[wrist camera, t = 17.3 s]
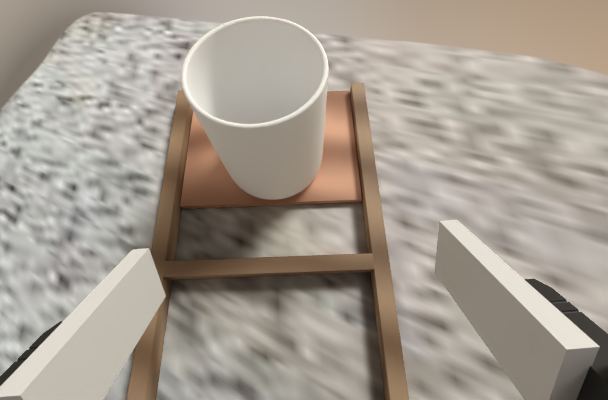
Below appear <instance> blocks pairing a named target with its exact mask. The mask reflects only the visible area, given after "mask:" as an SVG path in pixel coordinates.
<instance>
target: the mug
mask: <svg viewBox="0 0 608 400" xmlns="http://www.w3.org/2000/svg"><path fill="white" fill-rule="evenodd" d="M328 70H329V67H328V59H327V56H326V53H325V51H324V49H323V46H322V45H321V43H320V42H319V41H318V39H317V38H316V37H315V36H314V35H313V34H312V33H310V32H309V31H308V30H306V29H305V28H303V27H302V26H300V25H298V24H295V23H294V22H291V21H288V20H284V19H280V18H275V17H262V16H259V17H247V18H241V19H237V20H233V21H230V22H227V23H225V24H222V25H220V26H218V27H216V28H214V29H212V30H211V31H209V32H208V33H206V34H205V35H204V36H202V37H201V38H200V39H199V40H198V41H197V42H196V43H195V44H194V45H193V46H192V48H191V49H190V51H189V52H188V54H187V56H186V58H185V60H184V63H183V66H182V72H181V84H182V89H183V92H184V95H185V97H186V99H187V101H188V102H189V104H190V106H191V108H192V109H193V111H194V113H195V115H196V117H197V118H198V120H199V122H200V124H201V125H202V127H203V129H204V131H205V132H206V134H207V136H208V138H209V140H210V141H211V143H212V145H213V147H214V148H215V150H216V152H217V154H218V155H219V157H220V159H221V161H222V163H223V164H224V166H225V168H226V170H227V171H228V173H229V175H230V176H231V178H232V179H233V181H234V182H235V183H236V184H237V185H238V186H239V187H240V188H241V189H242V190H244V191H245V192H246V193H248V194H250V195H252V196H255V197H258V198H261V199H268V200H277V199H284V198H287V197H291V196H293V195H295V194H297V193H299V192H301V191H302V190H304V189H305V188H306V187H307V186H308V185H309V184H310V183H311V182H312V181H313V180H314V178H315V177H316V175H317V173H318V171H319V168H320V165H321V161H322V154H323V141H324V127H325V113H326V98H327V84H328Z"/></svg>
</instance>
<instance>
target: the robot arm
mask: <svg viewBox="0 0 608 400" xmlns="http://www.w3.org/2000/svg"><path fill="white" fill-rule="evenodd" d="M435 273H436V275H437V276H438V278H439V279H440V280H441V282H442V283H443V285H444V286H445V288H446V289H447V290H448V292H449V293H450V295H451V296H452V297H453V299H454V300H455V302H456V303H457V305H458V306H459V307H460V309H461V310H462V312H463V313H464V314H465V316H466V317H467V319H468V320H469V322H470V323H471V324H472V326H473V327H474V329H475V330H476V331H477V333H478V334H479V336H480V337H481V339H482V340H483V341H484V343H485V344H486V346H487V347H488V348H489V350H490V351H491V353H492V354H493V356H494V357H495V358H496V360H497V361H498V363H499V364H500V365H501V367H502V368H503V370H504V371H505V373H506V374H507V375H508V377H509V378H510V380H511V381H512V382H513V384H514V385H515V387H516V388H517V390H518V391H519V392H520V394H521V395H522V397H523V398H524V399H525V400H608V334H607V333H606V332H605V331H603V330H602V329H601V328H600V327H599V326H597V325H596V324H595V323H594V322H593V321H591V320H590V319H589V318H588V317H587V316H585V315H584V314H583V313H582V312H579V311H578V309H577V308H576V307H574V306H573V305H572V304H571V303H570V302H567V301H566V299H565V298H563V297H562V296H561V295H560V294H559V293H557V292H556V291H555V290H554V289H553V288H551V287H549V286H547V285H545V284H543V283H541V282H539V281H538V280H536V279H525V280H524V279H523V278H522V277H521V276H520V275H519V274H517V273H516V272H515V271H514V270H513V269H512V268H511V267H510V266H508V265H507V264H506V263H505V262H504V261H503V260H502V259H501V258H499V257H498V256H497V255H496V254H495V253H494V252H493V251H492V250H490V249H489V248H488V247H487V246H486V245H485V244H484V243H483V242H481V241H480V240H479V239H478V238H477V237H476V236H475V235H474V234H472V233H471V232H470V231H469V230H468V229H467V228H466V227H465V226H463V225H462V224H461V223H460V222H459V221H458V220H448V221H440V222H439V232H438V243H437V253H436V263H435ZM165 297H166V295H165V292H164V289H163V287H162V284H161V281H160V278H159V275H158V272H157V269H156V267H155V264H154V261H153V258H152V255H151V252H150V250H149V248H145V249H134V250H132V251H131V252H130V253H129V254H128V255H127V256H126V257H125V258H124V259H123V260H122V261H121V262H120V263H119V264H118V265H117V266H116V267H115V268H114V269H113V270H112V271H111V272H110V273H109V274H108V275H107V276H106V277H105V279H104V280H103V281H102V282H101V283H100V284H99V285H98V286H97V287H96V288H95V289H94V290H93V291H92V292H91V293H90V294H89V295H88V296H87V297H86V298H85V299H84V300H83V301H82V302H81V303H80V304H79V305H78V306H77V308H76V309H75V310H74V311H73V312H72V313H71V314H70V315H69V316H68V317H67V318H66V319H65V320H64V321H60V322H59V323H58V324H56V325H55V326H53V327H52V328H50V329H49V330H48V331H46V332H45V333H43V334H42V335H41V336H40V337H39V338H38V339H37V340H36V341H35V342H34V343H33V344H32V345H31V346H30V347H29V348H30V349H29V350H26V351H25V352H24V353H23V354H22V355H21V356H20V357H19V358H18V361H17V362H14V363H13V364H12V365H11V366H10V367H9V368H8V369H7V370H6V371H5V372H4V373H3V374H2V375H1V376H0V400H103V399H104V397H105V396H106V394H107V393H108V391H109V389H110V388H111V386H112V384H113V383H114V381H115V379H116V378H117V376H118V374H119V373H120V371H121V369H122V368H123V366H124V364H125V363H126V361H127V360H128V358H129V356H130V355H131V353H132V351H133V350H134V348H135V346H136V345H137V343H138V341H139V340H140V338H141V336H142V335H143V333H144V331H145V330H146V328H147V326H148V325H149V323H150V322H151V320H152V318H153V317H154V315H155V313H156V312H157V310H158V308H159V307H160V305H161V303H162V302H163V300H164V298H165Z"/></svg>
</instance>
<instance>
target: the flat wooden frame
mask: <svg viewBox="0 0 608 400" xmlns="http://www.w3.org/2000/svg"><path fill="white" fill-rule="evenodd" d="M361 201H362V206H363V214H364V223H365V231H366V240H367V248H368V254H342V255H315V256H288V257H262V258H235V259H208V260H182V261H175V254H176V247H177V240H178V232H179V225H180V217H181V210H182V209H194V208H219V207H245V206H271V205H296V204H322V203H348V202H361ZM151 255H152V258H153V261H154V264H155V267H156V269H157V272H158V275H159V278H160V281H161V284H162V287H163V289H164V292H165V295H166V297H165V298H164V300H163V302H162V303H161V305H160V307H159V308H158V310H157V312H156V313H155V315H154V317H153V318H152V320H151V322H150V323H149V325H148V326H147V328H146V330H145V331H144V333H143V335H142V336H141V338H140V340H139V341H138V343H137V345H136V347H135V353H134V358H133V364H132V370H131V376H130V382H129V388H128V394H127V400H156V396H157V388H158V381H159V373H160V366H161V358H162V351H163V344H164V336H165V329H166V321H167V314H168V306H169V299H170V292H171V284H172V280H177V279H204V278H231V277H258V276H285V275H312V274H339V273H366V272H370V274H371V283H372V291H373V300H374V308H375V317H376V325H377V334H378V342H379V351H380V359H381V368H382V376H383V385H384V393H385V400H409V396H408V389H407V382H406V375H405V368H404V361H403V354H402V347H401V340H400V333H399V326H398V319H397V312H396V305H395V298H394V291H393V284H392V277H391V270H390V263H389V256H388V249H387V242H386V235H385V228H384V221H383V214H382V207H381V200H380V193H379V186H378V179H377V173H376V166H375V159H374V152H373V145H372V138H371V131H370V124H369V117H368V110H367V103H366V96H365V89H364V83H351V89H350V93H349V91H331V92H327V98H326V113H325V127H324V141H323V154H322V161H321V165H320V168H319V171H318V173H317V175H316V177H315V178H314V180H313V181H312V182H311V183H310V184H309V185H308V186H307V187H306V188H305V189H304V190H302V191H301V192H299V193H297V194H295V195H293V196H291V197H287V198H284V199H277V200H268V199H261V198H258V197H255V196H252V195H250V194H248V193H246V192H245V191H244V190H242V189H241V188H240V187H239V186H238V185H237V184H236V183H235V182H234V181H233V179H232V178H231V176H230V175H229V173H228V171H227V170H226V168H225V166H224V164H223V163H222V161H221V159H220V157H219V155H218V154H217V152H216V150H215V148H214V147H213V145H212V143H211V141H210V140H209V138H208V136H207V134H206V132H205V131H204V129H203V127H202V125H201V124H200V122H199V120H198V118H197V117H196V115H195V113H194V111H193V109H192V108H191V106H190V104H189V102H188V101H187V99H186V97H185V95H184V92H183V90H181V91H178V95H177V101H176V107H175V113H174V119H173V125H172V131H171V137H170V143H169V149H168V155H167V161H166V167H165V173H164V179H163V185H162V191H161V197H160V203H159V209H158V215H157V221H156V227H155V233H154V239H153V245H152V251H151Z"/></svg>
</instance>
